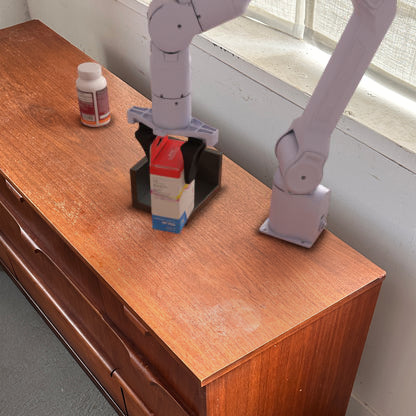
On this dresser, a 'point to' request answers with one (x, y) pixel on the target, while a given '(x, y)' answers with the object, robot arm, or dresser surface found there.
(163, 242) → the dresser surface
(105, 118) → the pill bottle
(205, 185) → the box
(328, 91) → the robot arm
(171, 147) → the ink box
